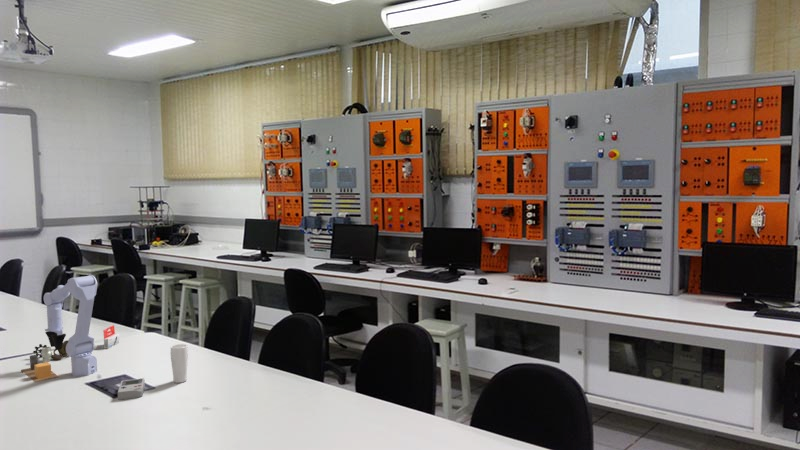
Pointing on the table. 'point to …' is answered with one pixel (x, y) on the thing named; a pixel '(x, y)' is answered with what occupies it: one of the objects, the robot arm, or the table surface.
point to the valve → (44, 353)
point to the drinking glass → (179, 362)
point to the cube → (42, 370)
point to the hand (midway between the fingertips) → (56, 348)
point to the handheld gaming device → (131, 389)
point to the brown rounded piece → (62, 352)
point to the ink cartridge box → (110, 338)
